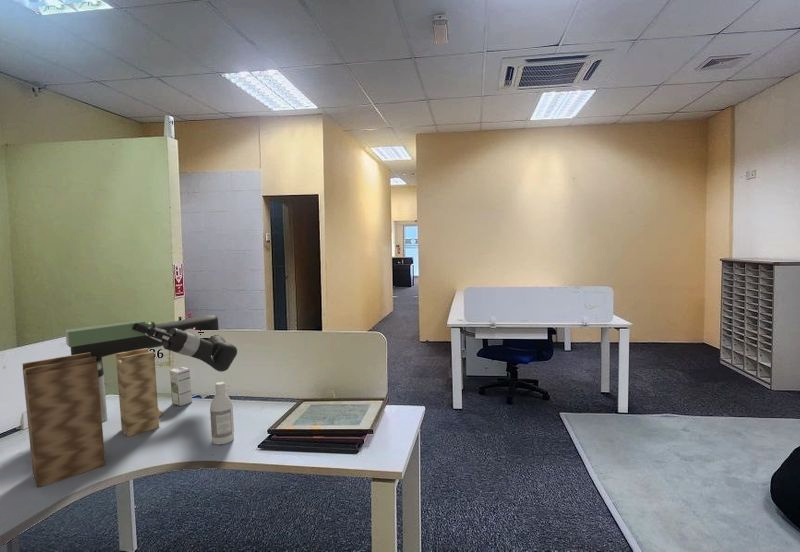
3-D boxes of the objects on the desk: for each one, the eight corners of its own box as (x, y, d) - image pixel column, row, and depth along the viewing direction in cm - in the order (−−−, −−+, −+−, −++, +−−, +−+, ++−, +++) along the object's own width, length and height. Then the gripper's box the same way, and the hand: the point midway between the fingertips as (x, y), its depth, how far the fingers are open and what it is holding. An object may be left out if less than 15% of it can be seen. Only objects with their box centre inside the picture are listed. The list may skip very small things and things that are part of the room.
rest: (127, 436, 151) (121, 357, 148) (121, 429, 156) (115, 353, 154) (159, 427, 158) (154, 352, 155) (152, 421, 163) (147, 348, 161)
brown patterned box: (37, 487, 121) (25, 370, 117) (32, 474, 127) (22, 362, 124) (105, 465, 132) (96, 357, 129) (97, 454, 139) (89, 351, 136)
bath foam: (216, 436, 150) (213, 379, 149) (236, 435, 151) (234, 379, 149) (208, 445, 144) (205, 387, 142) (229, 445, 144) (226, 386, 142)
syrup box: (192, 402, 182) (190, 368, 180) (179, 406, 177) (177, 372, 175) (184, 399, 185) (182, 366, 183) (171, 404, 180) (169, 369, 178)
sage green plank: (69, 347, 126) (67, 332, 126) (66, 344, 129) (65, 329, 129) (156, 333, 142) (155, 320, 142) (152, 331, 145) (151, 318, 145)
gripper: (179, 329, 156) (131, 311, 145) (195, 335, 146) (144, 316, 135) (169, 349, 154) (119, 332, 143) (184, 356, 144) (131, 339, 133)
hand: (131, 325), depth 139 cm, fingers closed on sage green plank, 4 cm apart
